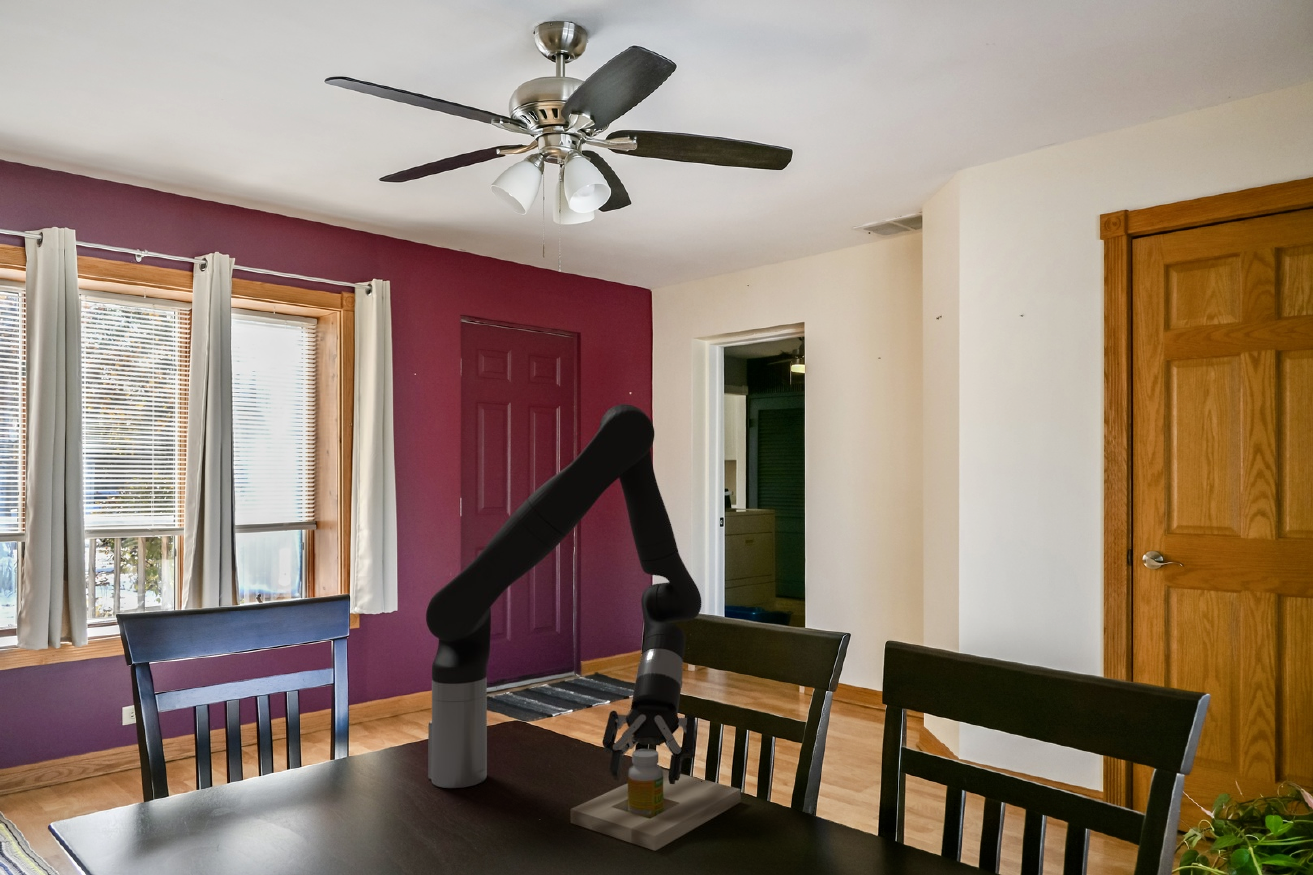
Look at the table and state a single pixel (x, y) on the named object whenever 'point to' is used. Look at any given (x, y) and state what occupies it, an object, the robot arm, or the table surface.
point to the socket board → (682, 814)
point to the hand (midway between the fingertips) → (643, 779)
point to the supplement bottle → (645, 784)
